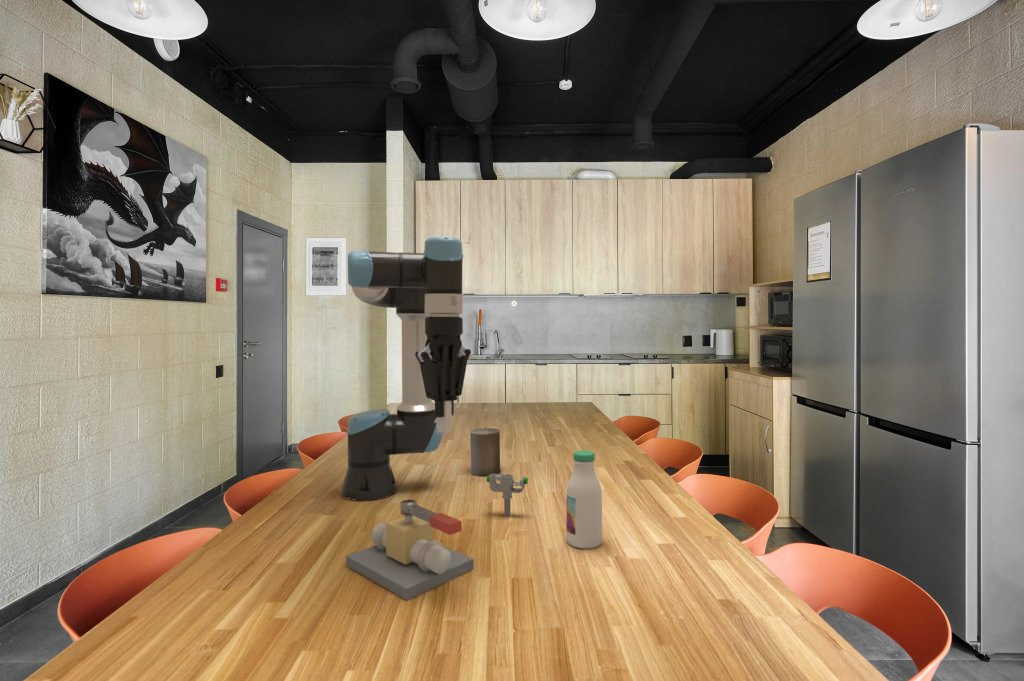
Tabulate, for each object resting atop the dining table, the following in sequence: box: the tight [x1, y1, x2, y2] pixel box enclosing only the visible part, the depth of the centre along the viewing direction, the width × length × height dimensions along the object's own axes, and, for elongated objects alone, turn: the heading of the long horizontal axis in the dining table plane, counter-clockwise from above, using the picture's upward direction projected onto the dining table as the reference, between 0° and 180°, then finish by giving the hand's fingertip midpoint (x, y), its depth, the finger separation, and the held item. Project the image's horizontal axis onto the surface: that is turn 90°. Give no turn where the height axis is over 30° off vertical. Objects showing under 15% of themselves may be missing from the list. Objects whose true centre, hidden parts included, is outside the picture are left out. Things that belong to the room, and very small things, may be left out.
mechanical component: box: [486, 473, 529, 517], centre depth 133 cm, size 3×10×10 cm, turn 79°
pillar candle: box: [469, 426, 501, 477], centre depth 172 cm, size 10×10×15 cm
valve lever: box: [399, 499, 462, 536], centre depth 99 cm, size 17×3×2 cm, turn 44°
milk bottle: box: [566, 449, 603, 550], centre depth 116 cm, size 8×8×20 cm
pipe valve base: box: [345, 515, 475, 601], centre depth 105 cm, size 20×16×11 cm
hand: (444, 432), depth 107 cm, fingers closed
